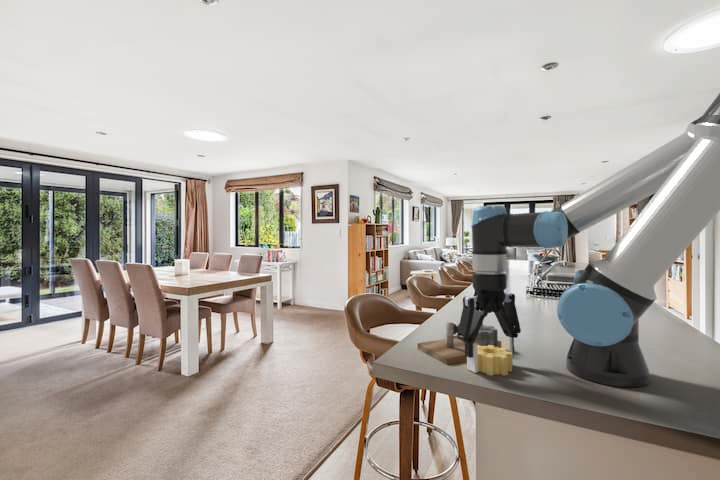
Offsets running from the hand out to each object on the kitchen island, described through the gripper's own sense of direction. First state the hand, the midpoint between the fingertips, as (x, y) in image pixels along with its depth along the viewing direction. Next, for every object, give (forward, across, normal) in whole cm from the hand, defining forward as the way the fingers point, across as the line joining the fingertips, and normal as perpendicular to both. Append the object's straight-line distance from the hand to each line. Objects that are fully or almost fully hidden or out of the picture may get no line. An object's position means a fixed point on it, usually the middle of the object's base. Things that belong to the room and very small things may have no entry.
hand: (490, 366), depth 81 cm
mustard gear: (0, 0, 0) cm, 0 cm away
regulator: (+1, -13, -22) cm, 26 cm away
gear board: (0, -3, -12) cm, 13 cm away
